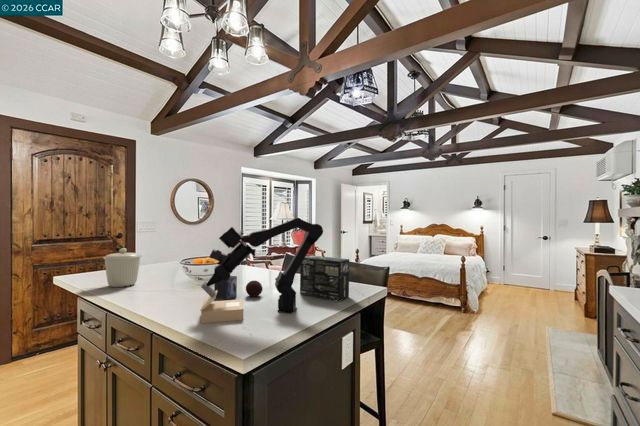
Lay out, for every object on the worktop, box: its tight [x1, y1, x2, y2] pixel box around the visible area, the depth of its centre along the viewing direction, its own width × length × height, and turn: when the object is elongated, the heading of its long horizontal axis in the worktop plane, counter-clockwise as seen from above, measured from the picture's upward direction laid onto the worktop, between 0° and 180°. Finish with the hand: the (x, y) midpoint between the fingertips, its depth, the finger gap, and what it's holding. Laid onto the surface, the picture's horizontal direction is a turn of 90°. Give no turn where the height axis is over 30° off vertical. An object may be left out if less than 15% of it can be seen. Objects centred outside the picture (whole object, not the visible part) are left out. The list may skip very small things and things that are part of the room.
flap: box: [199, 281, 217, 312], centre depth 117 cm, size 6×13×6 cm
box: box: [299, 254, 350, 302], centre depth 149 cm, size 23×10×19 cm, turn 58°
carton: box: [200, 299, 244, 324], centre depth 119 cm, size 15×14×4 cm
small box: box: [213, 275, 238, 301], centre depth 142 cm, size 11×6×10 cm, turn 168°
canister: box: [102, 247, 142, 288], centre depth 170 cm, size 18×18×21 cm
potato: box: [245, 280, 263, 297], centre depth 148 cm, size 8×9×8 cm
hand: (207, 285), depth 117 cm, fingers closed, pressing on flap
